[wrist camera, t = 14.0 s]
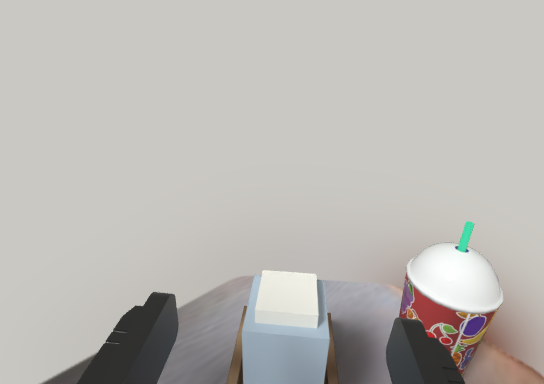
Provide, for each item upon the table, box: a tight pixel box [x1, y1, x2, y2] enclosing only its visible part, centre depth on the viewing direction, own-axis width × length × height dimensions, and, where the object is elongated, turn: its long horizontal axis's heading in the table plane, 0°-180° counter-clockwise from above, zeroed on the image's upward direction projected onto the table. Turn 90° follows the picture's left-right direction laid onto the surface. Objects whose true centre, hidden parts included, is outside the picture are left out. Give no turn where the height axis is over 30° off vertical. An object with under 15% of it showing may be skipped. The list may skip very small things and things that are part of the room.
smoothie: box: [399, 222, 503, 376], centre depth 31 cm, size 8×8×20 cm
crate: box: [227, 306, 339, 384], centre depth 32 cm, size 16×11×4 cm
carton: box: [242, 270, 330, 384], centre depth 26 cm, size 6×6×16 cm
